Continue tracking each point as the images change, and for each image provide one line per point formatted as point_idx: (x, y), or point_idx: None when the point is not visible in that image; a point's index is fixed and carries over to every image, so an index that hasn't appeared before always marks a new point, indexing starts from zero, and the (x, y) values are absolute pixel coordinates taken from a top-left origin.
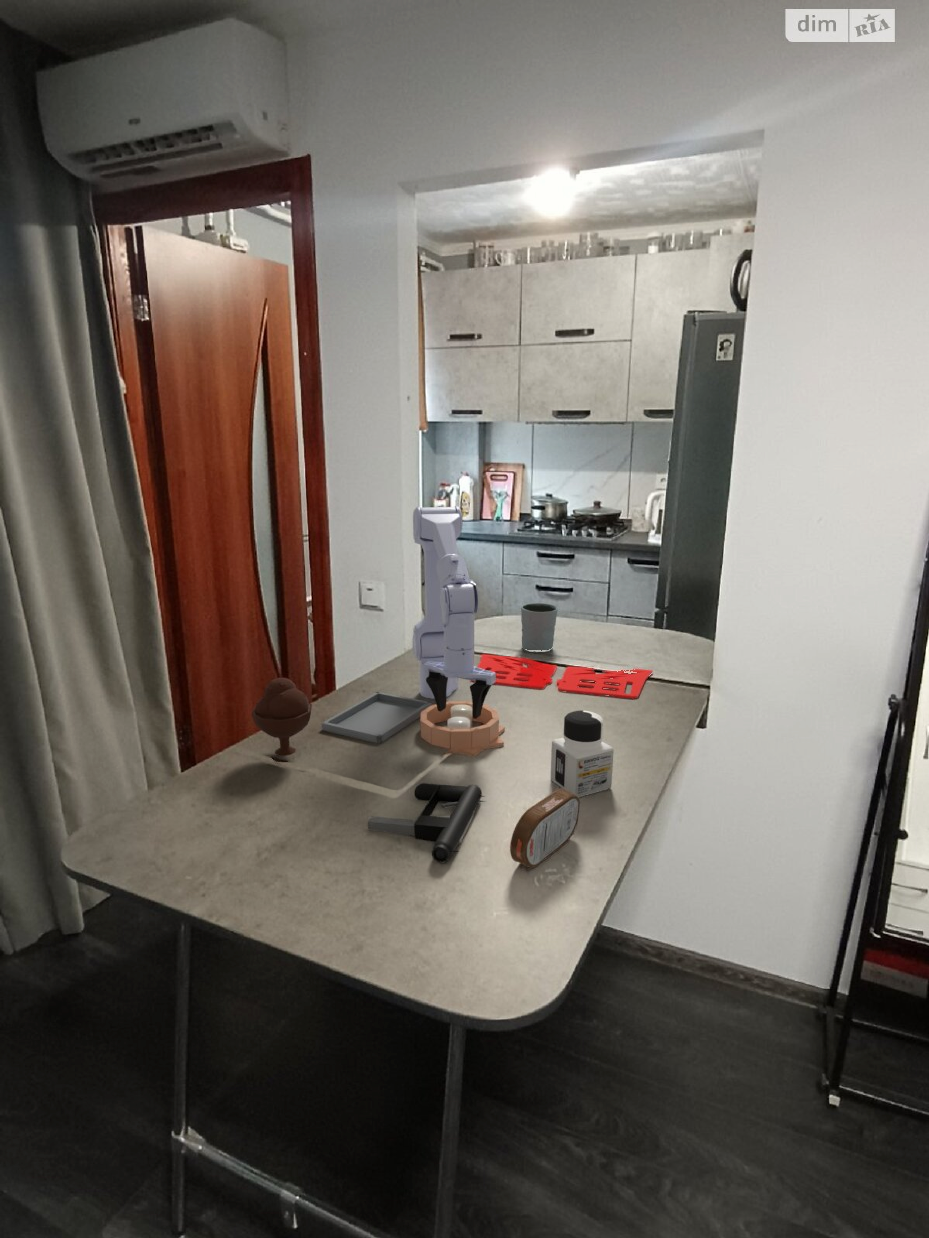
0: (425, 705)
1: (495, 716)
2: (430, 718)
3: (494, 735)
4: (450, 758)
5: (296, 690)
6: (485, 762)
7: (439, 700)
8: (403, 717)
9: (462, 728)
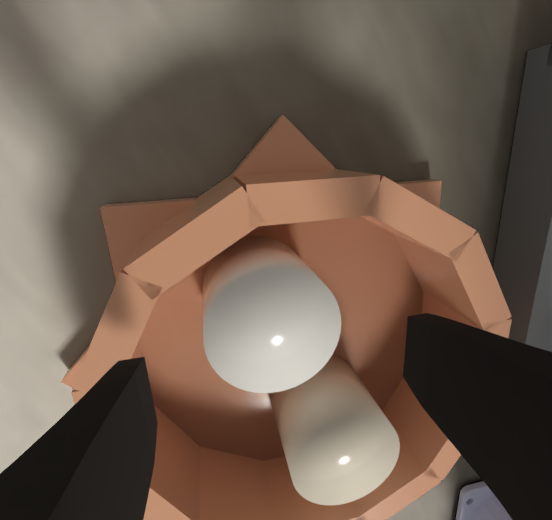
0: None
1: None
2: None
3: None
4: (198, 126)
5: None
6: (18, 180)
7: (477, 354)
8: (544, 324)
9: (217, 287)
